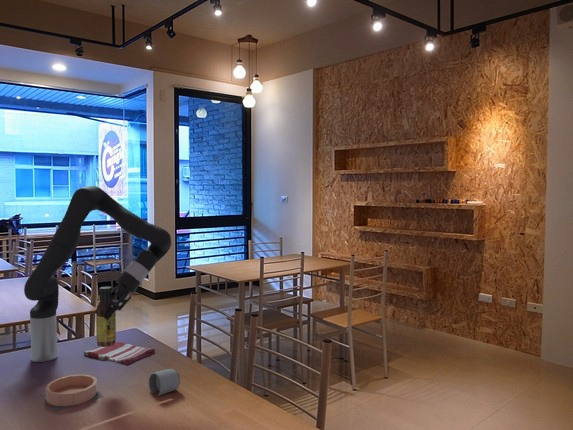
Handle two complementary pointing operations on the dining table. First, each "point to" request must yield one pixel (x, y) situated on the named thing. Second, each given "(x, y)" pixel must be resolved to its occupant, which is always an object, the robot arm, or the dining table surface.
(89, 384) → the bowl
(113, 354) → the dish towel
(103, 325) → the sauce bottle
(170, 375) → the ceramic mug
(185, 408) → the dining table surface
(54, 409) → the mat
